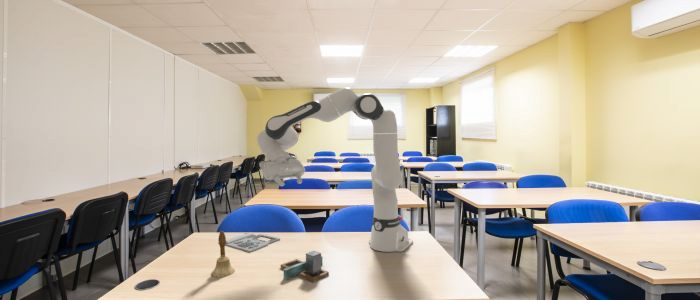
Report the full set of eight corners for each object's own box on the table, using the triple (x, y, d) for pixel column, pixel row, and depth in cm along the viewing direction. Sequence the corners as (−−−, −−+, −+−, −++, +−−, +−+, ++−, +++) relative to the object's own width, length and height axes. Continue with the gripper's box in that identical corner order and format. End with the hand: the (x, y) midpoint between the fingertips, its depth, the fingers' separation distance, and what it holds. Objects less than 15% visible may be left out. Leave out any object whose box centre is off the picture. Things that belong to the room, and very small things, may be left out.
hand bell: (226, 278, 119) (226, 235, 118) (206, 276, 120) (205, 233, 120) (239, 268, 127) (238, 228, 126) (220, 267, 128) (219, 227, 128)
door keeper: (305, 258, 137) (305, 250, 137) (338, 270, 125) (338, 262, 124) (269, 271, 124) (269, 262, 124) (301, 287, 111) (301, 277, 111)
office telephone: (217, 239, 157) (250, 229, 173) (217, 244, 157) (250, 233, 173) (250, 248, 144) (282, 235, 161) (250, 253, 144) (282, 241, 161)
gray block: (314, 272, 123) (313, 250, 123) (321, 275, 121) (321, 253, 120) (306, 275, 120) (305, 253, 120) (313, 278, 118) (313, 256, 117)
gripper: (260, 156, 135) (274, 182, 129) (298, 154, 150) (312, 177, 144) (254, 166, 138) (268, 191, 132) (292, 163, 154) (306, 185, 147)
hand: (291, 184), depth 138 cm, fingers open, 8 cm apart
